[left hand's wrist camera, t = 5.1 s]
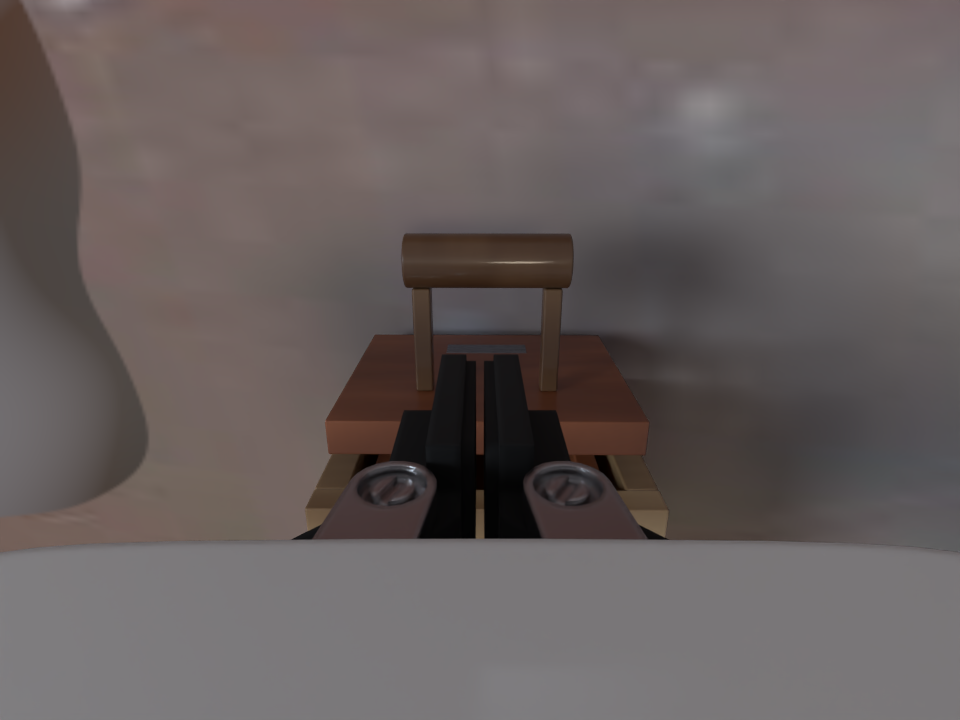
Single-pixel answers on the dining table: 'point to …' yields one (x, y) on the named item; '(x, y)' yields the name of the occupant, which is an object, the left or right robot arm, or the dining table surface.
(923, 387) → the dining table surface
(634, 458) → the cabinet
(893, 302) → the dining table surface
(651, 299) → the dining table surface
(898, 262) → the dining table surface
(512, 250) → the drawer
